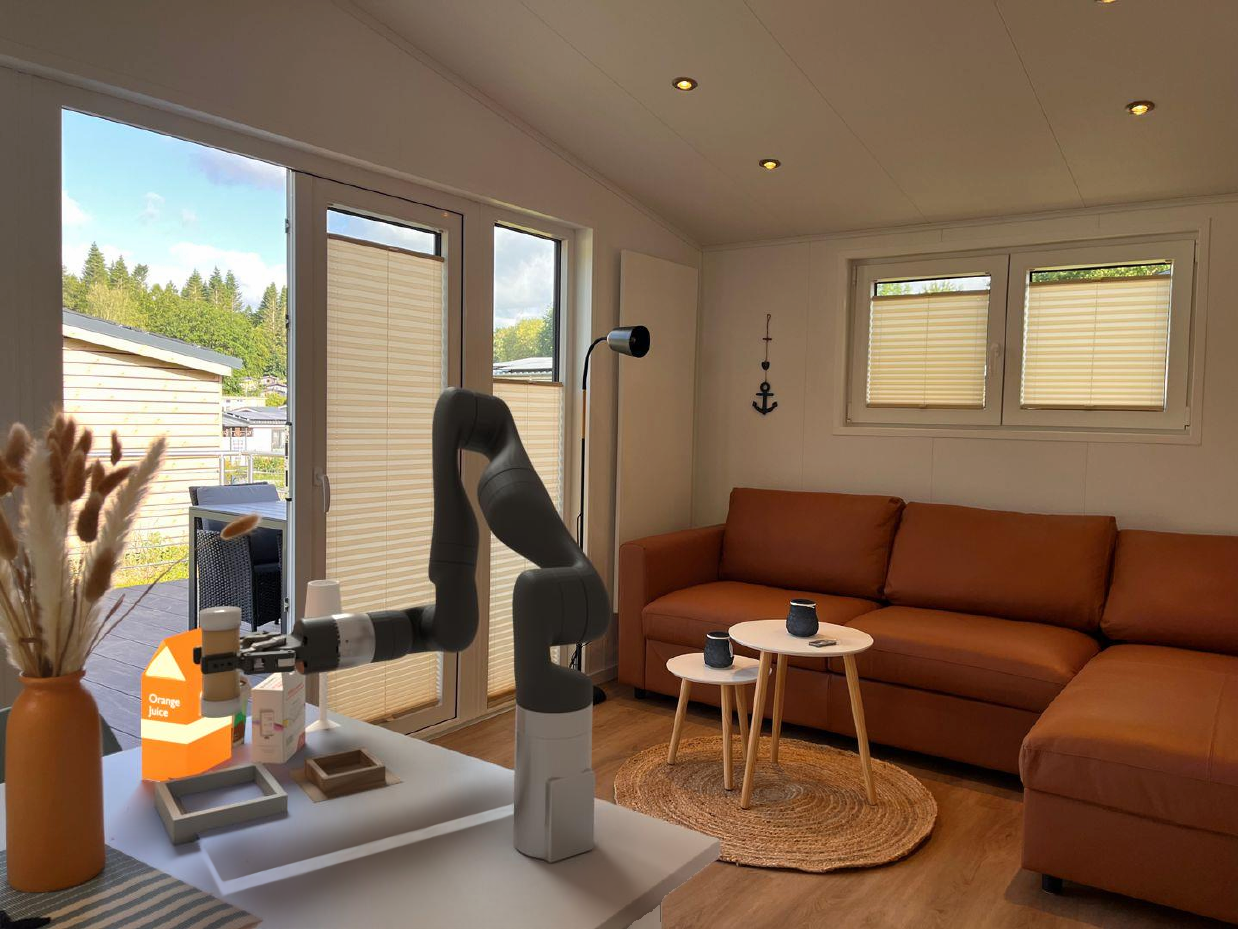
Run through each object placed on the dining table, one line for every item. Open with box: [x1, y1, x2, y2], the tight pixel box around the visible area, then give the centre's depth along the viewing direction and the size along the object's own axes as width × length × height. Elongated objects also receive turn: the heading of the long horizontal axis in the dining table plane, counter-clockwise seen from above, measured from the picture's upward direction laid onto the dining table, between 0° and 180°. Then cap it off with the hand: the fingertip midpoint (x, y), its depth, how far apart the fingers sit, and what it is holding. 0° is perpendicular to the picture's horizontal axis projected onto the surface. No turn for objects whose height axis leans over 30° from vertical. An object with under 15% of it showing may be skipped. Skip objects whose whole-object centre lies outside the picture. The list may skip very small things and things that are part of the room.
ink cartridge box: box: [250, 669, 306, 764], centre depth 131 cm, size 9×5×15 cm, turn 179°
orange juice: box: [140, 627, 232, 781], centre depth 126 cm, size 8×9×20 cm
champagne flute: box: [303, 579, 343, 734], centre depth 143 cm, size 7×7×24 cm
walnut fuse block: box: [287, 746, 404, 804], centre depth 123 cm, size 12×12×3 cm
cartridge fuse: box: [199, 605, 242, 718], centre depth 113 cm, size 5×5×13 cm
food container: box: [231, 674, 253, 749], centre depth 138 cm, size 12×6×10 cm, turn 66°
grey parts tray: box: [154, 761, 288, 846], centre depth 114 cm, size 13×13×3 cm
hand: (197, 660), depth 112 cm, fingers closed on cartridge fuse, 4 cm apart
